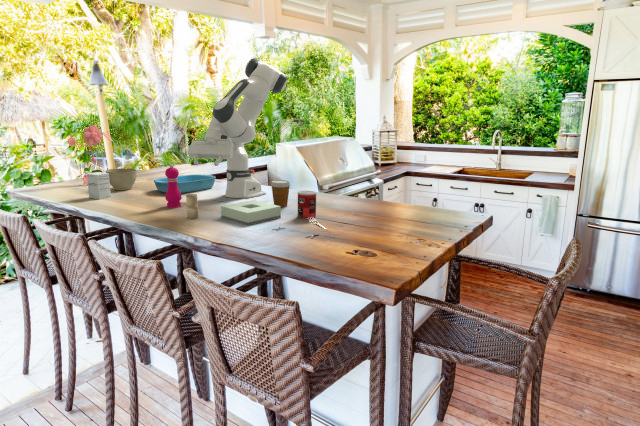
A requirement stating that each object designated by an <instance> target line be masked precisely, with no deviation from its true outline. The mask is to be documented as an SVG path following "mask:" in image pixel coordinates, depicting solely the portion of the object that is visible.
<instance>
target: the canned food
mask: <svg viewBox="0 0 640 426" xmlns="http://www.w3.org/2000/svg"><path fill="white" fill-rule="evenodd" d="M316 215H317V191H314V190H300V191H298V192H297V217H298V218H299V217H300V218H299V219H302V218H311V217H312V219H314V218H313V217H315V218H316Z"/></svg>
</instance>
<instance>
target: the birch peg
mask: <svg viewBox="0 0 640 426" xmlns="http://www.w3.org/2000/svg"><path fill="white" fill-rule="evenodd" d="M185 197H186V198H185V199H186V200H185V201H186V213H187V214H186V217H187V220H196V219H199V211H198V210H199V205H198V194H197V193H188V194H186V195H185Z"/></svg>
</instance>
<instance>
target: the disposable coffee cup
mask: <svg viewBox="0 0 640 426" xmlns="http://www.w3.org/2000/svg"><path fill="white" fill-rule="evenodd" d="M270 186H271V193H272V199H273V205H277V206H281V208H286V207H288V201H289V193H290V186H291V182H290V180H286V179H285V180H284V179H276V180H272V181H271V182H270ZM285 206H286V207H285Z"/></svg>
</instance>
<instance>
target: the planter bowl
mask: <svg viewBox="0 0 640 426" xmlns="http://www.w3.org/2000/svg"><path fill="white" fill-rule="evenodd" d="M137 172H138V170H137V169H136V168H110V169H109V168H108V169H106V170H105V173H109V182H110V186H112V188H113V190H115V191H126V190H127V191H128V190H133V189H132V188H133V185H134V184H135V182H136V180H137V177H138V176H137V175H138V174H137Z"/></svg>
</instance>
